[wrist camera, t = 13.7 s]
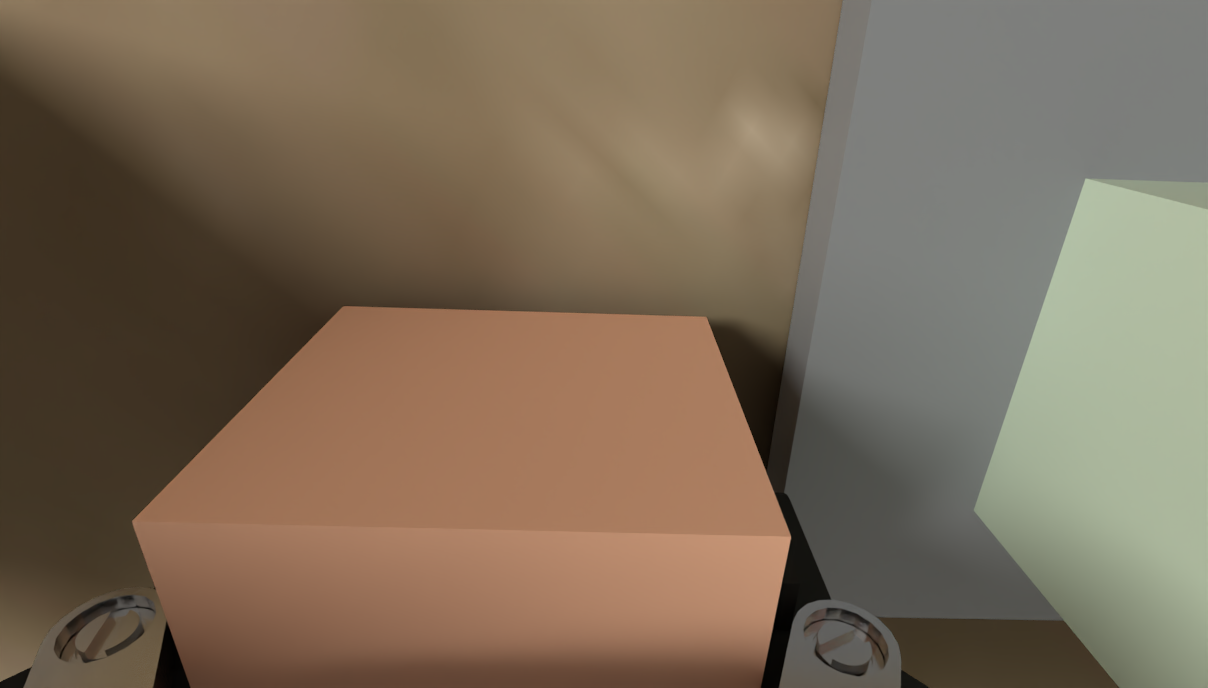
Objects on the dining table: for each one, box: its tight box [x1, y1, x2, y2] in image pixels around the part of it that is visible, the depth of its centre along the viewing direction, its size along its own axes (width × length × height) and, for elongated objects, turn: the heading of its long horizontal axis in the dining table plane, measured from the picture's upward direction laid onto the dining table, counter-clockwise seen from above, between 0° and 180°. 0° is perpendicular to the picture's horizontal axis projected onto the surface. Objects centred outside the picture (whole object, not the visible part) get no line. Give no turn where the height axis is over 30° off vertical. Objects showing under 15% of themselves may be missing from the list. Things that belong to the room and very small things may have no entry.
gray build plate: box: [767, 0, 1208, 620], centre depth 12 cm, size 12×14×1 cm
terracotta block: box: [132, 306, 791, 688], centre depth 10 cm, size 6×6×6 cm
